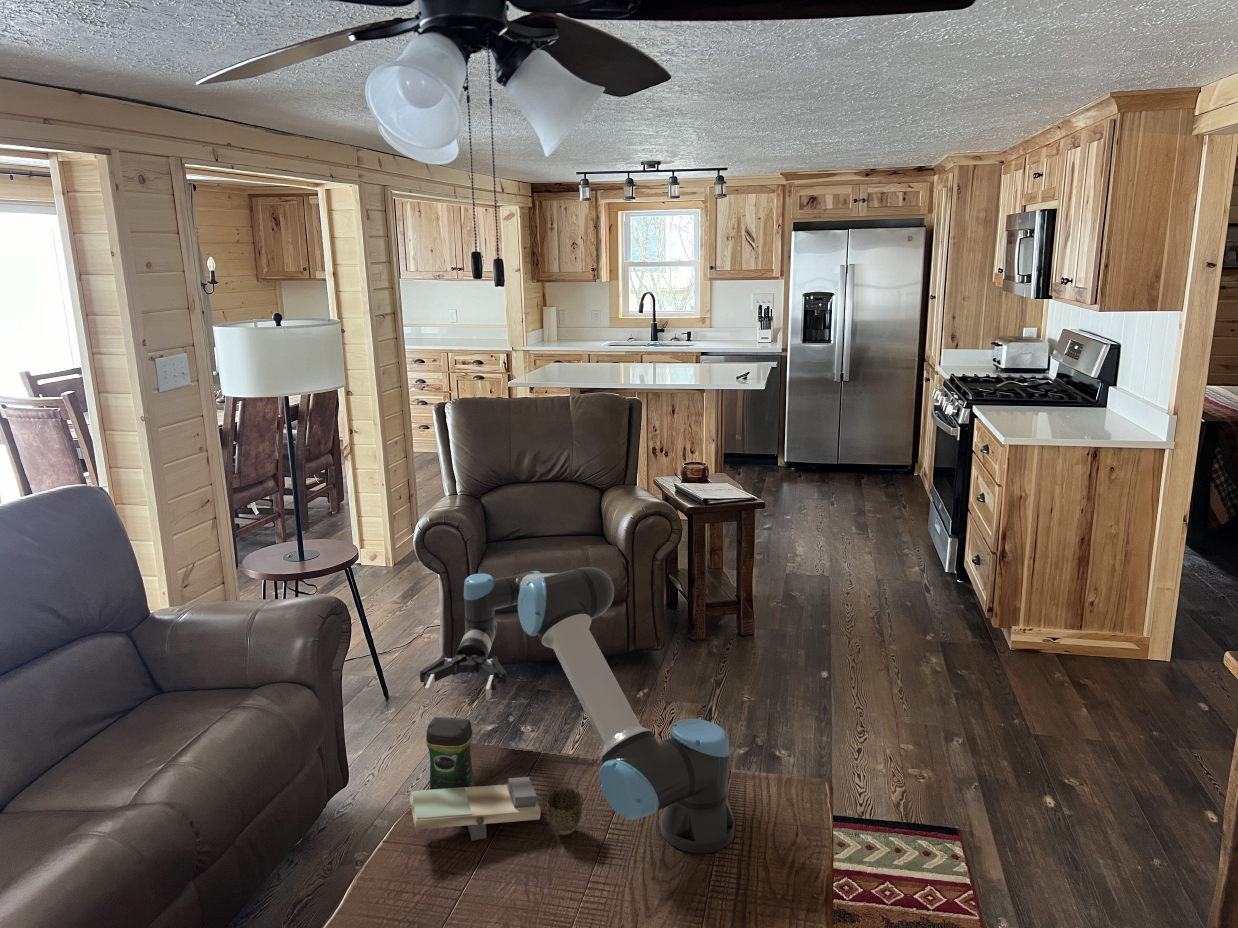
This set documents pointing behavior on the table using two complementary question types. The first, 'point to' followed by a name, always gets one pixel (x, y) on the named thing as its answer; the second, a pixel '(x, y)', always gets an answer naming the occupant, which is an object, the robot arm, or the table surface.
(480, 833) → the beam stand
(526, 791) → the beam
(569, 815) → the cup
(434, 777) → the coffee jar
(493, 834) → the table surface
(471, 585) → the robot arm
